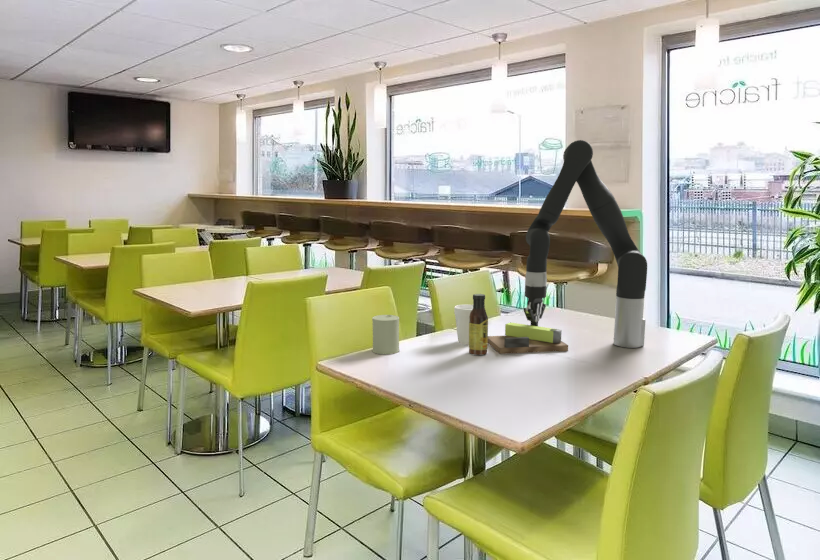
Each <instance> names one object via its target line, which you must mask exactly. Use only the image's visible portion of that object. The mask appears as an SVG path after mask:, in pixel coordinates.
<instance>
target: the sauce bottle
mask: <svg viewBox="0 0 820 560" xmlns="http://www.w3.org/2000/svg"><path fill="white" fill-rule="evenodd" d="M472 300H473V302H472V305H473V309H472V311H471V313H470V316H469V317H470V322H469V345H468V352H469V354H471V355H473V356H475V355H476V356H483V355H484V356H485V355H486V354H487V352H488V345H489V344H488V336H489V335H488V334H489V317H488V314H487V312H486V305H485V300H486V294H482V293H475V294H472Z"/></svg>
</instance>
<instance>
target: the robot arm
mask: <svg viewBox="0 0 820 560" xmlns="http://www.w3.org/2000/svg"><path fill="white" fill-rule="evenodd" d="M593 155H594V150H593V147H592V145H591V143H589V142H588V141H586V140H583V139H580V140H579V139H578V140H574V141H573V142H571V143H570V144H569V145H568V146H567V147H566V148H565V150H564V151H563V155H562V156H563V157H562V158H563V164H562V166H561V169H560V172H559V174H558V176H557V178H556V180H555V182H554V183H553V184H552V185H553V186H552V187H551V189H550V190H549V191H548V193H547V195H546V197H545V199H544V200H543V203H542V205H541V207H540V209H539V211H538V214H537V216H536V217H535V219H534V220H533V222H531V224H530V226H529V227H528V230H527V231H526V235H525V241H526V243H527V244H528V245H529V255H528V256H527V257H526V266H525V267H526V269H525V278H524V281H525V282H524V297H525V298H527V304H526V307H524V308H523V313H524V315H525V318H526V320H527V321H529V322H530V325H532V326H539V321H540V319H542V318H543V315H544V312H545V309H546V306H547V305H546V303H543V302H544V300H543V299H545V298H546V297H547V286H548V277H547V268H548V266H547V265H548V260H547V259H548V257H549V256H548V255H549V251H550V245H551V236H550V233H549V231H550V229H551V228H552V226H553V225H555V224H556V223H557V222H558V221H559V218H560V217H561V214H562V212H563V211H564V207H565V205H566V203H567V201H568V199H569V197H570V194H571V192H572V191H573V188H574V186H575V185H576V183H577V185H578V187H579V189H580V192H581V194H582V197H583V200H584V202H585V204H586V206H587V208H588V210H589V212H590V214H591V217H592V219H593V221H594V222H595V225H596V226H597V228H598V229H599V231H600V232H601V234H602V235H603V236H604V237H605V239H606V240H607V243H608V244H609V246H610V249H611V251H612V254H613V256H614V259H615V261H616V265H617V281H616V282H617V285H616V290H615V293H616V294H615V307H614V308H615V310H614V314H615V315H614V327H613V328H614V329H613V345H615V346H618V347H622V348H629V349H632V348H633V349H635V348H641V347H644V346H645V336H646V335H645V334H646V319H645V318H644V309H645V296H646V295H645V294H646V290H647V280H648V279H647V278H648V261H647V259H646V257H645V256H644V255H643V254H642V253H641V251H640V249H639V248H638V247H637V245H636V244H635V242H634V240H633V239H632V237H631V235H630V233H629V230H628V227H627V224H626V221H625V220H626V219H625V218H624V216H623V212H622V210H621V207H620V205H619V204H618V202H617V200H616V198H615V196H614V195H613V193H612V192H611V190H610V189H609V188H608V186H607V185H606V184H605V183H604V182H603V181H602V179H601V178H600V176H599V175H598V173H597V171H596V169H595V167H594V164H593V161H592V158H593Z"/></svg>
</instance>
